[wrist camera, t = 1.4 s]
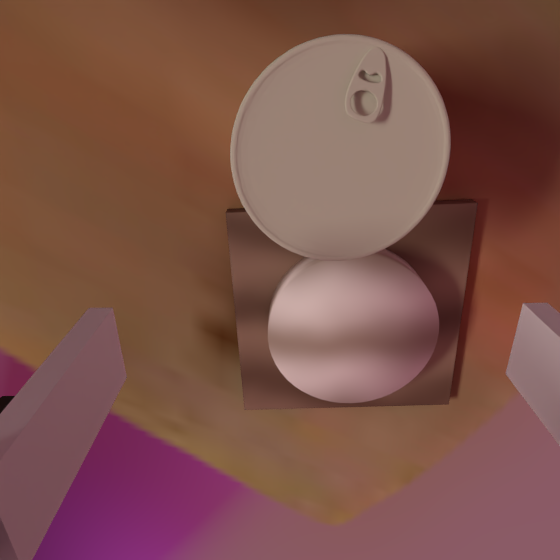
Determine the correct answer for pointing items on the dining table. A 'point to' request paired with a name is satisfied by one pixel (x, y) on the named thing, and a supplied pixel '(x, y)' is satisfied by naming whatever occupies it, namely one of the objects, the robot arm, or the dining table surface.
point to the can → (340, 147)
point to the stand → (351, 316)
